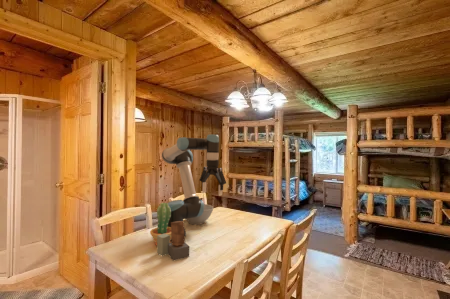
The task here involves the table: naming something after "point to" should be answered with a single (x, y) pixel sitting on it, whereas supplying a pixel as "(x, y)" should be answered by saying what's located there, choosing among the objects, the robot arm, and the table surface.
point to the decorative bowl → (203, 217)
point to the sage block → (163, 244)
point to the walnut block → (177, 233)
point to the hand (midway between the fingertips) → (212, 194)
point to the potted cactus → (162, 221)
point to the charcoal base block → (178, 251)
